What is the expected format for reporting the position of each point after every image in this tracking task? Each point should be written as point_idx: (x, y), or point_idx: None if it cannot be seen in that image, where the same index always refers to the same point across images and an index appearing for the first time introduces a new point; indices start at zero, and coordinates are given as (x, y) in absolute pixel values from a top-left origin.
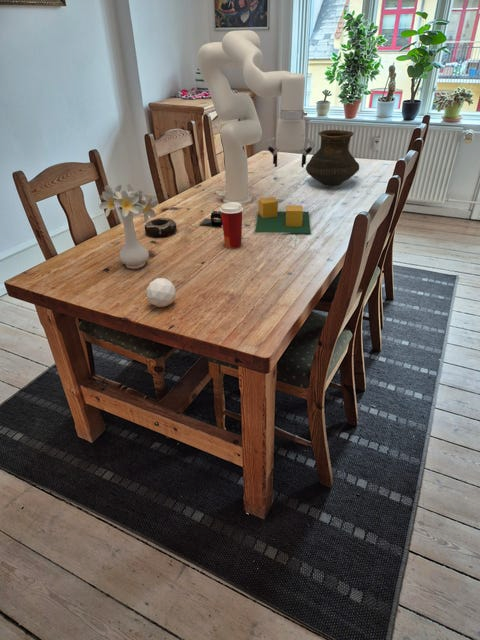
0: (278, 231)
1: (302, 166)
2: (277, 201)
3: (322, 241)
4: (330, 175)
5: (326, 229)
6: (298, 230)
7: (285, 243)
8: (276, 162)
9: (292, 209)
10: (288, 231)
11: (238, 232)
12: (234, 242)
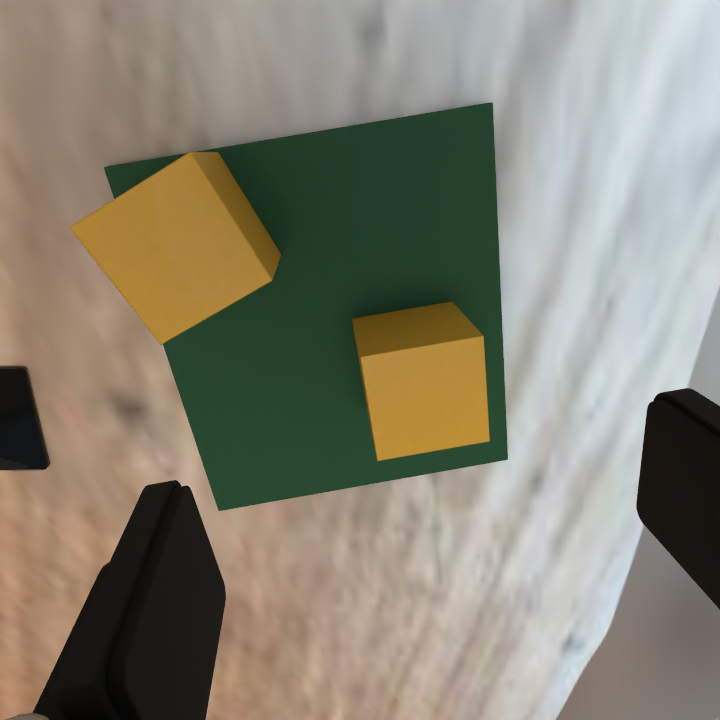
0: (339, 476)
1: (657, 527)
2: (269, 278)
3: (558, 513)
4: None
5: (591, 376)
6: None
7: (393, 563)
8: (206, 661)
9: (417, 430)
10: (392, 466)
11: None
12: None
